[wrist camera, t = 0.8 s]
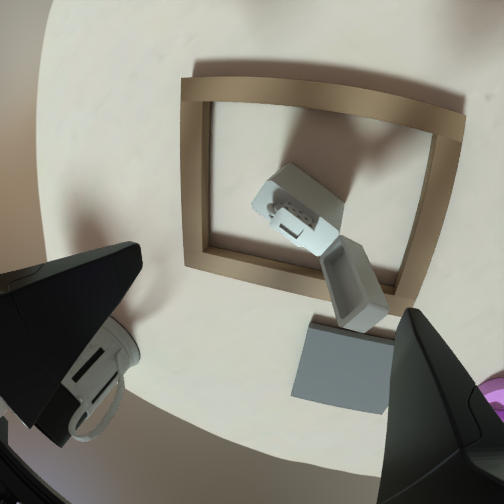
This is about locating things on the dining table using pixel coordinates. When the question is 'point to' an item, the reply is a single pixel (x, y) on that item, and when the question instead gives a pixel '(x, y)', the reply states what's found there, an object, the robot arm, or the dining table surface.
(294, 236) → the lighter
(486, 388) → the bracket
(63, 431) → the glass holder
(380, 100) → the frame
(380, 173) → the dining table surface
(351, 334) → the mat
